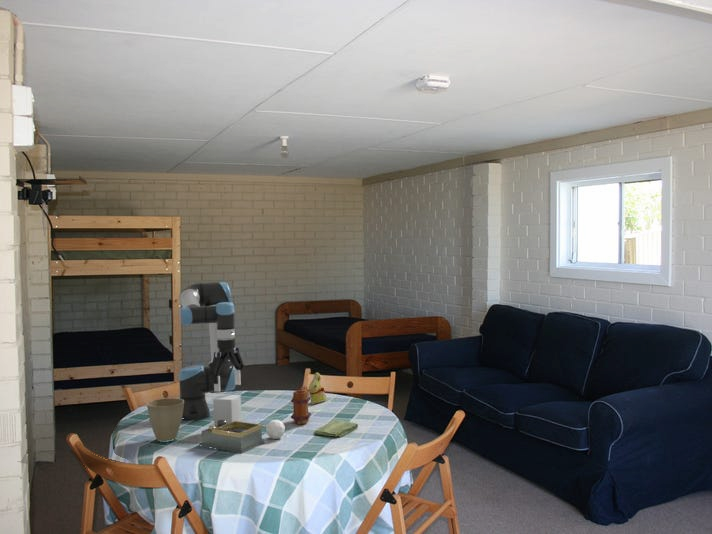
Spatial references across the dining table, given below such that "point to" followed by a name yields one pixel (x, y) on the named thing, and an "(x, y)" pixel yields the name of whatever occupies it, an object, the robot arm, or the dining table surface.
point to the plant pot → (165, 417)
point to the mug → (301, 406)
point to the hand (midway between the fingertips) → (227, 387)
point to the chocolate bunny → (316, 390)
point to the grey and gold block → (233, 436)
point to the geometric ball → (275, 429)
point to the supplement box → (227, 408)
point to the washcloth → (336, 428)
